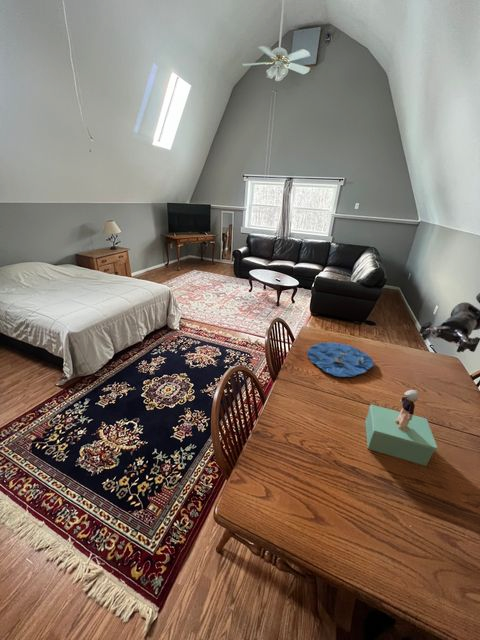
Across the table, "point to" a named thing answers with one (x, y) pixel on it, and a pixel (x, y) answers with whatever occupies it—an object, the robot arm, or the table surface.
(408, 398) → the grandmother figurine
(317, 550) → the table surface
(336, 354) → the blue sea diorama
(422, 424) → the lunchbox lid
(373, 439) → the block
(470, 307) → the robot arm
